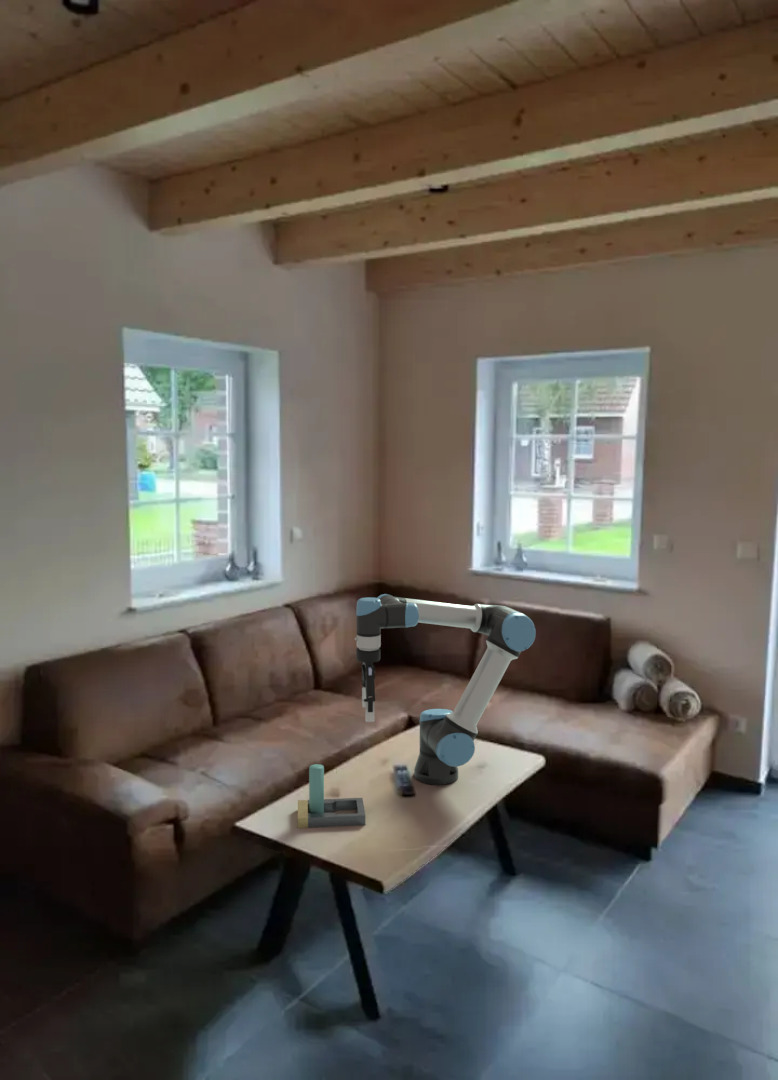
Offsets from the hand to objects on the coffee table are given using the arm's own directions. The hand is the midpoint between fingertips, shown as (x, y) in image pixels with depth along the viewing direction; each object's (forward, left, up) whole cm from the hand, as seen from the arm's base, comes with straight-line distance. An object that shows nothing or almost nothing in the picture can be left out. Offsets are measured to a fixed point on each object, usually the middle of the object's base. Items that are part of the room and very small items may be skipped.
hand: (368, 714), depth 246 cm
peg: (+16, +10, -29) cm, 34 cm away
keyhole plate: (+12, +10, -29) cm, 33 cm away
